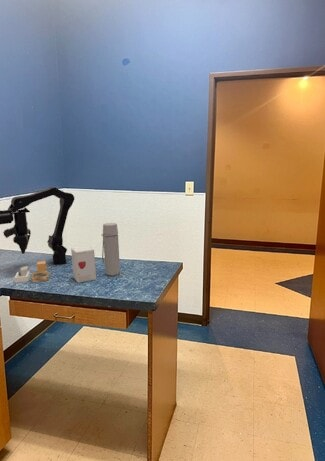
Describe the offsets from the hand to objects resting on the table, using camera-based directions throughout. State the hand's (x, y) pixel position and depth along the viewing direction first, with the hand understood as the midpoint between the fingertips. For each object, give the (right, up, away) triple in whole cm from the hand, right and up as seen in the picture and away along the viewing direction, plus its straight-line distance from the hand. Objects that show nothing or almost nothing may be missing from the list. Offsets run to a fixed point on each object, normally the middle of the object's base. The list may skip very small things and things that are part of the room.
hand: (24, 251), depth 172 cm
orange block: (+10, -10, -2) cm, 14 cm away
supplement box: (+34, -12, -13) cm, 38 cm away
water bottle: (+46, -11, -7) cm, 48 cm away
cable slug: (+2, -11, -5) cm, 12 cm away
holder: (+13, -12, -12) cm, 21 cm away
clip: (+4, -13, -11) cm, 17 cm away
